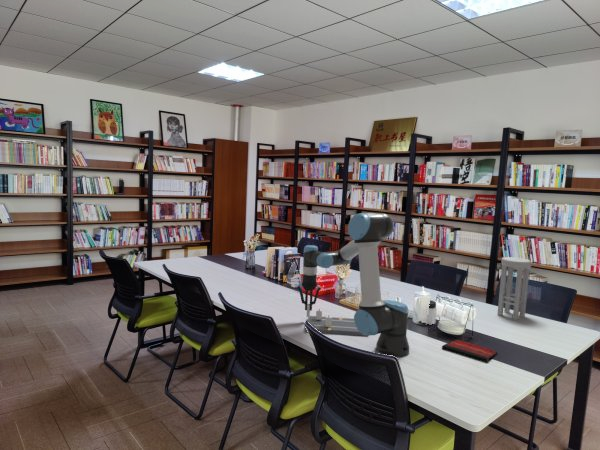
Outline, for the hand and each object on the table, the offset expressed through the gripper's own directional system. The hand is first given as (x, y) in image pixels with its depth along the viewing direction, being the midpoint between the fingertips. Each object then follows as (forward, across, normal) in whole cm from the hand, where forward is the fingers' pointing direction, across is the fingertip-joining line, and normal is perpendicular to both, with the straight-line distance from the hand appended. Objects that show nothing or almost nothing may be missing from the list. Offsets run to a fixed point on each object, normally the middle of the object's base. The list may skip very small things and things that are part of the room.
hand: (308, 315), depth 230 cm
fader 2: (+1, -11, +10) cm, 15 cm away
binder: (+5, -79, +25) cm, 83 cm away
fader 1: (+1, -6, 0) cm, 6 cm away
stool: (+4, -122, -36) cm, 127 cm away
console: (+4, -16, +5) cm, 17 cm away
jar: (+4, -67, -13) cm, 68 cm away
